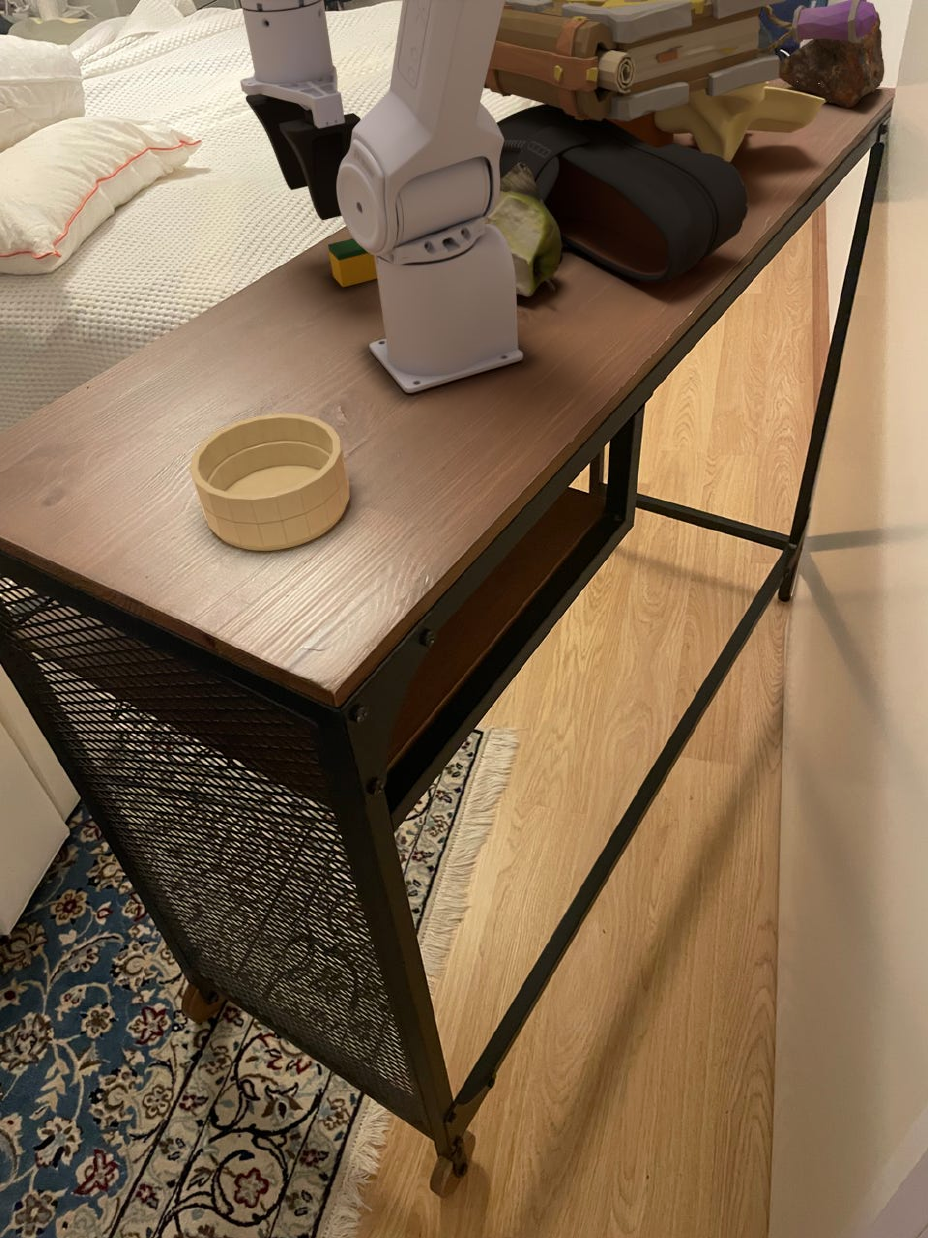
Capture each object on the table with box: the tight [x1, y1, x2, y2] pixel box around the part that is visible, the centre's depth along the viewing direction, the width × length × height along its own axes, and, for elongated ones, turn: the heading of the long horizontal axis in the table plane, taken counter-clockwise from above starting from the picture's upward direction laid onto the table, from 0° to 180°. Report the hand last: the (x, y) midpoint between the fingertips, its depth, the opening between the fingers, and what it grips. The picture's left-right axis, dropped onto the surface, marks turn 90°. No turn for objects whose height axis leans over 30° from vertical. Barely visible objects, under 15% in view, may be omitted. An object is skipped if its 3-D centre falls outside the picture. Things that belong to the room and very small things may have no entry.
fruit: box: [485, 162, 562, 298], centre depth 77 cm, size 9×9×8 cm
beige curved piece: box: [654, 81, 828, 163], centre depth 95 cm, size 22×19×6 cm
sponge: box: [327, 237, 378, 288], centre depth 82 cm, size 4×3×3 cm, turn 115°
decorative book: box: [483, 0, 877, 121], centre depth 80 cm, size 25×27×11 cm
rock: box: [778, 11, 885, 109], centre depth 106 cm, size 14×12×10 cm
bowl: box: [189, 412, 351, 552], centre depth 58 cm, size 9×9×4 cm
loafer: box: [496, 103, 749, 284], centre depth 81 cm, size 10×28×12 cm
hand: (316, 200), depth 76 cm, fingers open, 7 cm apart
